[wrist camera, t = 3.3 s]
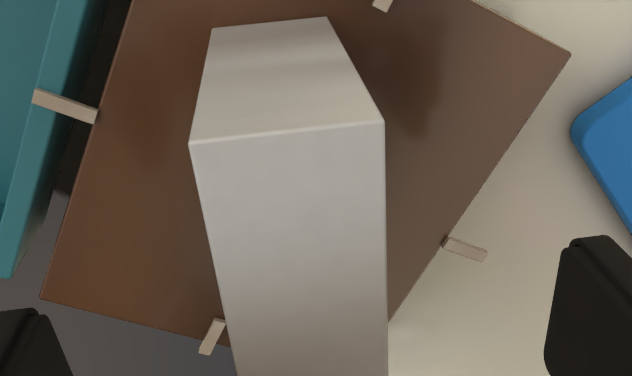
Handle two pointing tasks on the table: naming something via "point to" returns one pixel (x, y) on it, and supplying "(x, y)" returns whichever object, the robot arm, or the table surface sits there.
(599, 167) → the handheld gaming device
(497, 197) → the table surface
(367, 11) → the panel
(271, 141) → the white block
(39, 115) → the basin
